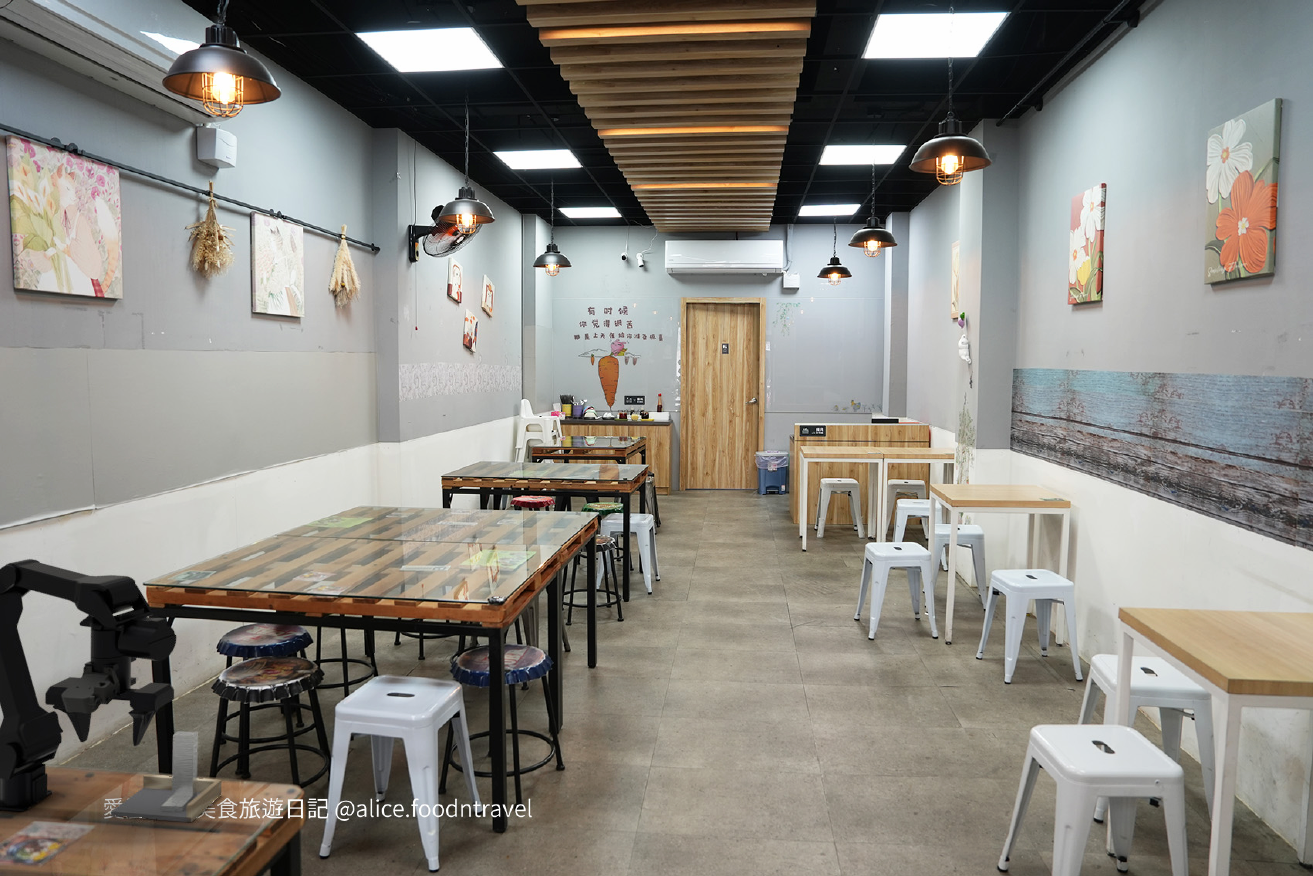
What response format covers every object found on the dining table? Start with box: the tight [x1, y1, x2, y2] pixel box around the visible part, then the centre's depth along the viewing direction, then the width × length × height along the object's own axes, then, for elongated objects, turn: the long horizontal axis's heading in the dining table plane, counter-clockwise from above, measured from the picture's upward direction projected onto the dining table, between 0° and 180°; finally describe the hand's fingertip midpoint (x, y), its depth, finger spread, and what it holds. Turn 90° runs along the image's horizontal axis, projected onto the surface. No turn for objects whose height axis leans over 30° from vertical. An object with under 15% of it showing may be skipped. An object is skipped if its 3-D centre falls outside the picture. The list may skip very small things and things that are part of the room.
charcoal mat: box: [110, 787, 220, 823], centre depth 145 cm, size 14×9×1 cm, turn 88°
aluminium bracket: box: [161, 731, 199, 812], centre depth 143 cm, size 4×5×12 cm
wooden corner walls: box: [142, 773, 223, 823], centre depth 145 cm, size 14×9×3 cm, turn 88°
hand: (110, 743), depth 139 cm, fingers open, 9 cm apart
